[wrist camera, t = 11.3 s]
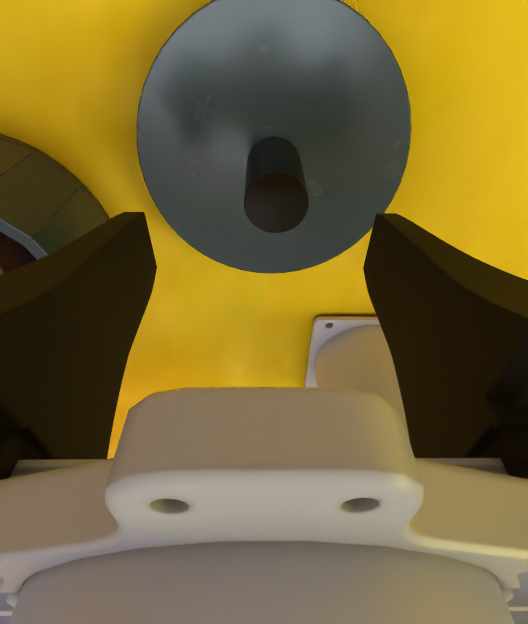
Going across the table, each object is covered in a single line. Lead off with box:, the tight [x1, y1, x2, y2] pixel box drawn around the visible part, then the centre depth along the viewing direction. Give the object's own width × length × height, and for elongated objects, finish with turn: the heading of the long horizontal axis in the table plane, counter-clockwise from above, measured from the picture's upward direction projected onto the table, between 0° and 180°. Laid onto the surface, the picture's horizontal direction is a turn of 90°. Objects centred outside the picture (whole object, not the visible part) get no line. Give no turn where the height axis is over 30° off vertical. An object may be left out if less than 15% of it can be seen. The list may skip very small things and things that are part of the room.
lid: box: [136, 0, 411, 273], centre depth 15 cm, size 12×12×5 cm
